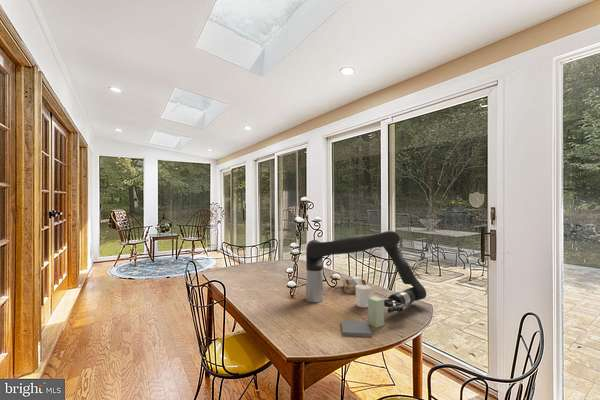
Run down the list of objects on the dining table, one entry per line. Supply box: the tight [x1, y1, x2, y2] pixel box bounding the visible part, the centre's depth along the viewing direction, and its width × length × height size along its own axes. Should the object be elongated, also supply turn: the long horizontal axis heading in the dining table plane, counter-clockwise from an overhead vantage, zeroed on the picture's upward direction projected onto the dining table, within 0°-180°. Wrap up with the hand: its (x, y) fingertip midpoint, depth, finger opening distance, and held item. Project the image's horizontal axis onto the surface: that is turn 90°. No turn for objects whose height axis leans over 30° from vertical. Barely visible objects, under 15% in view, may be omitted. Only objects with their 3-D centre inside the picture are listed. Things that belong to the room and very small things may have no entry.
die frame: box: [342, 278, 369, 295], centre depth 189 cm, size 14×15×4 cm
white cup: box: [355, 284, 372, 308], centre depth 163 cm, size 8×8×10 cm
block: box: [367, 295, 385, 328], centre depth 139 cm, size 5×5×12 cm
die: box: [348, 275, 363, 286], centre depth 189 cm, size 8×9×10 cm
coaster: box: [340, 319, 373, 338], centre depth 133 cm, size 12×12×2 cm
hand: (380, 308), depth 142 cm, fingers open, 8 cm apart
